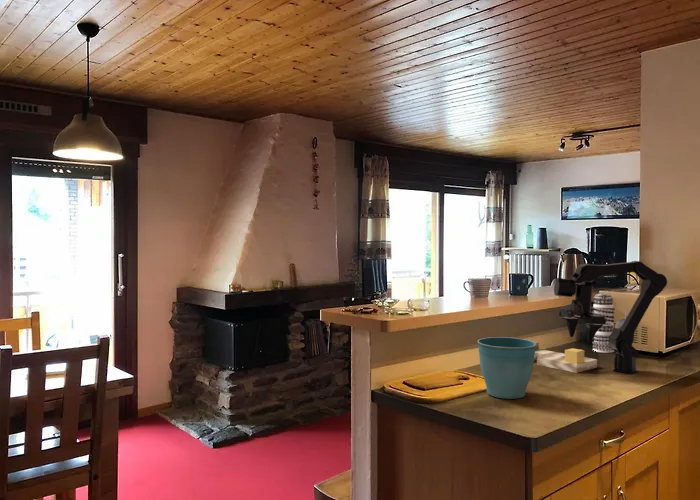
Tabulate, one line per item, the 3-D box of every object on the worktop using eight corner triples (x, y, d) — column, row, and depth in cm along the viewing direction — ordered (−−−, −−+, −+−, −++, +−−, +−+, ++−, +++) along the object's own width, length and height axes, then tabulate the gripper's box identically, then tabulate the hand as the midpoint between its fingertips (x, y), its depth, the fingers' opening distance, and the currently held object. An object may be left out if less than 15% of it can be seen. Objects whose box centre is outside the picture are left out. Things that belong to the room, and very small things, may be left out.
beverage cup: (610, 355, 237) (610, 307, 237) (622, 353, 241) (623, 306, 240) (625, 358, 231) (625, 309, 230) (638, 356, 234) (638, 308, 233)
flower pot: (525, 386, 189) (525, 336, 189) (544, 402, 171) (544, 347, 171) (472, 387, 189) (472, 337, 189) (485, 403, 171) (485, 347, 171)
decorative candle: (602, 353, 240) (602, 295, 240) (587, 349, 249) (587, 293, 249) (619, 351, 243) (619, 294, 243) (603, 348, 252) (603, 292, 252)
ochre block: (584, 362, 211) (584, 350, 211) (576, 364, 208) (576, 352, 208) (572, 359, 215) (572, 348, 215) (564, 361, 213) (564, 349, 212)
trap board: (597, 367, 216) (597, 353, 216) (576, 372, 208) (576, 358, 207) (536, 355, 238) (536, 342, 237) (515, 360, 229) (515, 346, 229)
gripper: (549, 294, 216) (545, 334, 216) (583, 300, 198) (579, 344, 199) (573, 295, 219) (569, 334, 220) (608, 301, 202) (605, 344, 202)
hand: (580, 339), depth 210 cm, fingers open, 9 cm apart
